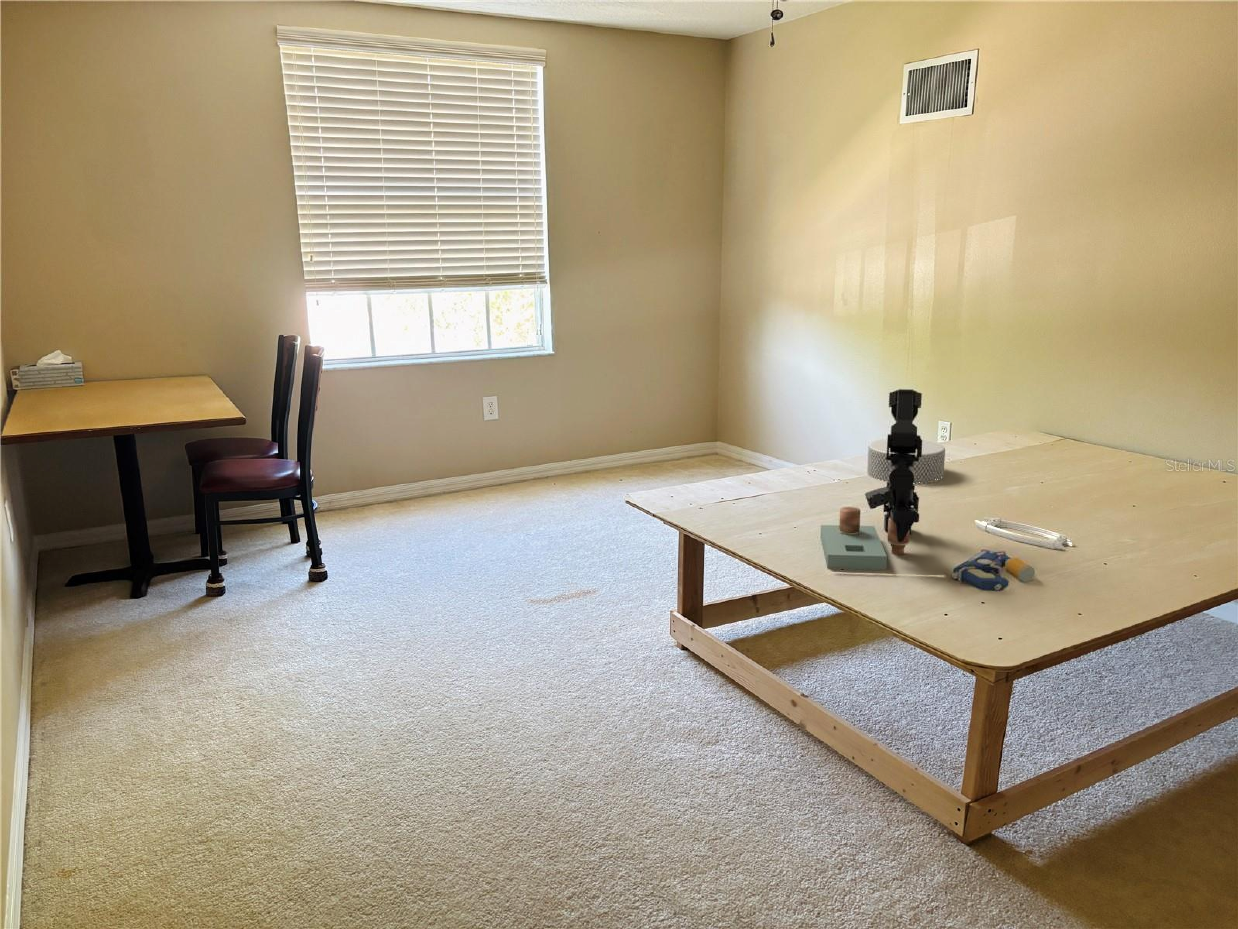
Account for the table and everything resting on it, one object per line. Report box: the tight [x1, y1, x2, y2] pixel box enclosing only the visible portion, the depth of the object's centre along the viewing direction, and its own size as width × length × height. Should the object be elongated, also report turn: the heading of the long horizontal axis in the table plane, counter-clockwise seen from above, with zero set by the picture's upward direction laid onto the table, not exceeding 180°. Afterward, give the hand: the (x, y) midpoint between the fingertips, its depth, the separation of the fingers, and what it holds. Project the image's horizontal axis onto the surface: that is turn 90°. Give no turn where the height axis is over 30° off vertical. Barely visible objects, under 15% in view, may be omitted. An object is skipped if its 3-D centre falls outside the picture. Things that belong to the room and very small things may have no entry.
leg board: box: [820, 524, 888, 571], centre depth 215 cm, size 14×23×4 cm, turn 171°
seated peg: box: [838, 506, 861, 535], centre depth 221 cm, size 5×5×10 cm
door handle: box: [974, 516, 1074, 551], centre depth 225 cm, size 3×10×25 cm
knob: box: [866, 438, 946, 484], centre depth 288 cm, size 25×10×25 cm
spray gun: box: [952, 548, 1036, 592], centre depth 198 cm, size 21×4×15 cm
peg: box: [886, 518, 910, 556], centre depth 213 cm, size 5×5×10 cm
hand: (898, 538), depth 213 cm, fingers closed on peg, 5 cm apart
